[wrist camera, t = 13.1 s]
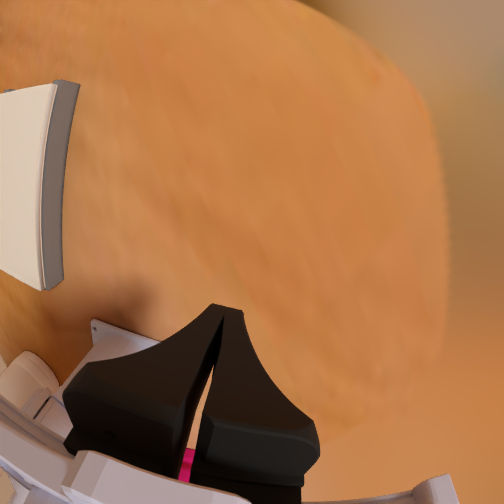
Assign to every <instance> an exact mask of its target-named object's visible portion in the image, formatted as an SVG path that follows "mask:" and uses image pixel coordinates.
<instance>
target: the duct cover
mask: <svg viewBox="0 0 504 504" xmlns="http://www.w3.org/2000/svg"><path fill="white" fill-rule="evenodd" d="M57 86H58V85H56V84H45V85H40V86H34V87H29V88H24V89H19V90H15V91H11V92H7V93H3V94H0V269H1V270H3V271H4V272H6V273H8V274H10V275H11V276H13V277H15V278H17V279H18V280H20V281H22V282H24V283H26V284H27V285H29V286H31V287H33V288H35V289H37V290H39V291H42V290H44V289H45V288H46V286H45V278H44V268H43V255H42V236H41V199H42V179H43V167H44V157H45V149H46V142H47V135H48V129H49V123H50V117H51V112H52V107H53V103H54V98H55V94H56V90H57Z"/></svg>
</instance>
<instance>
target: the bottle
mask: <svg viewBox="0 0 504 504" xmlns="http://www.w3.org/2000/svg"><path fill="white" fill-rule="evenodd" d="M39 388H44V389H45V388H49V389H50V390H51V391H52V394H51V396H53V395H54V393H55V392H56V391H57V389H58V388H59V383H58V380H57V378H56V376H55V374H54V373H53V372H52V370H51V369H50V368H49V366H48V365H47V364H46V363H45V362H44V361H43V360H42V359H41V358H39V357H38V356H37V355H35V354H34V353H32V352H30V351H24V352H22V353H21V354H20V355H19V356H18V357H16V358H15V359H14V360H13V361H12V362H11V364H10V365H9V366H8V367H7V368H6V369H5V370H4V371H3V373H2V374H1V375H0V394H1V395H2V396H3V397H5V398H6V399H7V400H8V401H10V402H11V403H12V404H14V405H15V406H16V407H17V408H19V409H21V408H22V407H23V405H24V404H25V403H26V401H27V400H28V399H29V398H30V397H31V395H32V394H33V393H34V392H35V391H36V390H37V389H39ZM3 471H4V470H2V469H1V468H0V476H1V475H2V473H3Z"/></svg>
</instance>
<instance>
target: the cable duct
mask: <svg viewBox="0 0 504 504" xmlns="http://www.w3.org/2000/svg"><path fill="white" fill-rule="evenodd" d="M53 84H56V85H58V86H57V90H56V94H55V98H54V103H53V107H52V112H51V117H50V123H49V129H48V135H47V142H46V149H45V157H44V167H43V179H42V199H41V236H42V255H43V268H44V278H45V286H46V288H45V290H47V291H49V290H50V289H52V288H53V287H54V286H56V285H57V284H58V283H60V282H61V281H63V280H64V274H63V257H62V204H63V187H64V175H65V165H66V157H67V149H68V142H69V136H70V130H71V125H72V119H73V114H74V109H75V105H76V100H77V96H78V92H79V88H80V84H77V83H73V82H70V81H66V80H54V81H53ZM11 91H15V90H14V89H7V90H4V93H7V92H11Z"/></svg>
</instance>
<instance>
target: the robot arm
mask: <svg viewBox="0 0 504 504" xmlns="http://www.w3.org/2000/svg"><path fill="white" fill-rule="evenodd" d="M91 332H92V340H93V347H92V348H91V350H90V351H89V352H88V353H87V355H86V356H85V357H84V358H83V360H82V361H81V362H80V363H79V364H78V366H77V367H76V368H75V370H74V371H73V372H72V373H71V375H70V376H69V377H68V378H67V380H66V381H65V382H64V384H63V385H62V386H60V387H59V388H58V389H57V391H56V392H55V393H54V395H53V396H51V394H52V391H51V390H50V389H49V388H45V389H44V388H39V389H37V390H36V391H35V392H34V393H33V394H32V395H31V397H30V398H29V399H28V400H27V401H26V403H25V404H24V405H23V407H22V408H21V409H19V408H17V407H16V406H15V405H14V404H12V403H11V402H10V401H8V400H7V399H6V398H5V397H3V396H2V395H1V394H0V468H1V469H2V470H4V471H5V472H6V473H7V475H8V477H9V479H10V481H11V483H12V485H13V487H14V490H15V491H14V493H13V495H12V496H11V498H10V500H9V501H8V503H7V504H459V501H458V498H457V495H456V492H455V489H454V486H453V484H452V481H451V478H450V475H449V474H444V475H440V476H437V477H433V478H430V479H427V480H425V481H423V482H421V483H420V484H418V485H417V486H416V487H414V488H413V489H412V490H409V491H405V492H400V493H395V494H390V495H384V496H378V497H371V498H363V499H354V500H342V501H325V502H301V487H303V486H304V474H305V473H306V472H307V471H308V470H309V469H310V468H311V467H312V466H313V465H314V464H315V463H316V461H317V460H318V458H319V457H320V443H319V438H318V435H317V431H316V428H315V424H314V421H313V420H312V419H310V418H309V417H308V416H307V415H305V414H304V413H303V412H302V411H301V410H299V409H298V408H297V407H296V406H295V405H294V404H292V403H291V402H290V401H289V400H288V399H287V398H286V397H285V395H284V394H283V393H282V392H281V391H280V390H279V389H278V387H277V386H276V385H275V384H274V382H273V381H272V380H271V378H270V377H269V375H268V374H267V372H266V371H265V369H264V368H263V366H262V364H261V362H260V361H259V359H258V357H257V355H256V353H255V350H254V348H253V346H252V343H251V341H250V338H249V335H248V332H247V329H246V325H245V321H244V313H243V312H242V310H238V309H234V308H230V307H226V306H222V305H218V304H214V303H212V304H211V305H209V306H208V307H207V308H206V309H205V310H204V311H203V312H202V313H201V314H200V315H199V316H198V317H197V318H195V319H194V320H193V321H192V322H191V323H189V324H188V325H187V326H185V327H184V328H183V329H181V330H180V331H178V332H177V333H175V334H174V335H172V336H170V337H169V338H167V339H165V340H163V341H161V342H159V341H156V340H153V339H150V338H147V337H144V336H141V335H138V334H135V333H132V332H129V331H126V330H123V329H120V328H118V327H115V326H112V325H110V324H107V323H104V322H102V321H99V320H97V319H93V320H92V321H91ZM213 365H214V367H213ZM212 368H213V374H212V382H211V386H210V389H209V392H208V396H207V399H206V402H205V406H204V409H203V412H202V418H201V423H200V428H199V433H198V439H197V444H196V449H195V454H194V458H193V462H192V466H191V470H190V478H189V483H187V482H183V481H179V480H178V478H179V474H180V470H181V466H182V462H183V458H184V454H185V450H186V446H187V442H188V439H189V435H190V431H191V427H192V423H193V420H194V416H195V412H196V409H197V406H198V403H199V401H200V398H201V396H202V393H203V391H204V388H205V386H206V383H207V380H208V378H209V375H210V373H211V370H212Z"/></svg>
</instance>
